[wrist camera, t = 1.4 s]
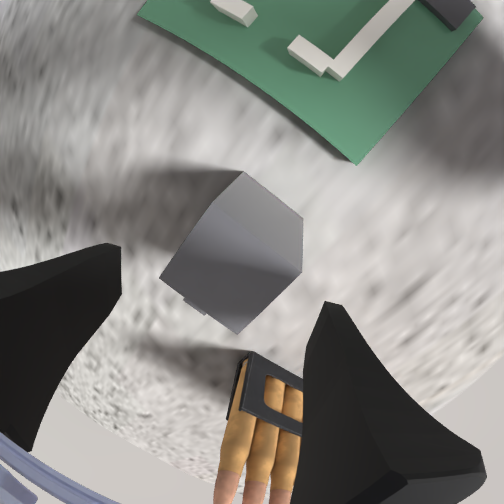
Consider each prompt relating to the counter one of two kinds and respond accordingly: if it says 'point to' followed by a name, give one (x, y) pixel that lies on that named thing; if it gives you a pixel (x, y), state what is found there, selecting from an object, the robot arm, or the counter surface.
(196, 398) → the counter surface
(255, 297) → the plug
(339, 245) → the counter surface
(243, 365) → the ammunition clip
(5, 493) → the robot arm
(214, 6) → the board
